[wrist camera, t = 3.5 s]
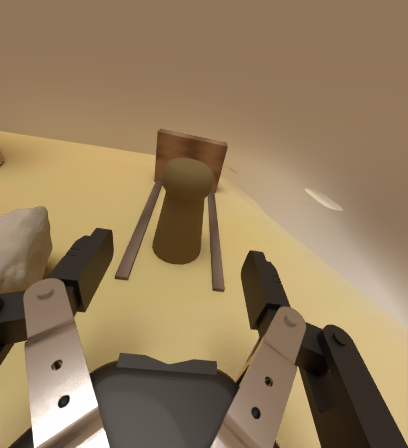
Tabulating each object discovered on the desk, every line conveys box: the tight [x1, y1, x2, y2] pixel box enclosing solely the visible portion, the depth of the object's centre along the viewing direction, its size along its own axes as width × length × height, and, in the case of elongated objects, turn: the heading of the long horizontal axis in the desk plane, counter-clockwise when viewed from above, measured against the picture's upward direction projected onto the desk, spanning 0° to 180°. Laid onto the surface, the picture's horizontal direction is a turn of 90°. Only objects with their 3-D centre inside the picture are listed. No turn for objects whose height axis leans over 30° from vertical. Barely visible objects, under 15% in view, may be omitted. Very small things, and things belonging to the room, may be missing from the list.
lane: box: [115, 129, 228, 292], centre depth 29 cm, size 12×26×9 cm, turn 0°
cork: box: [152, 158, 214, 264], centre depth 23 cm, size 6×6×11 cm
